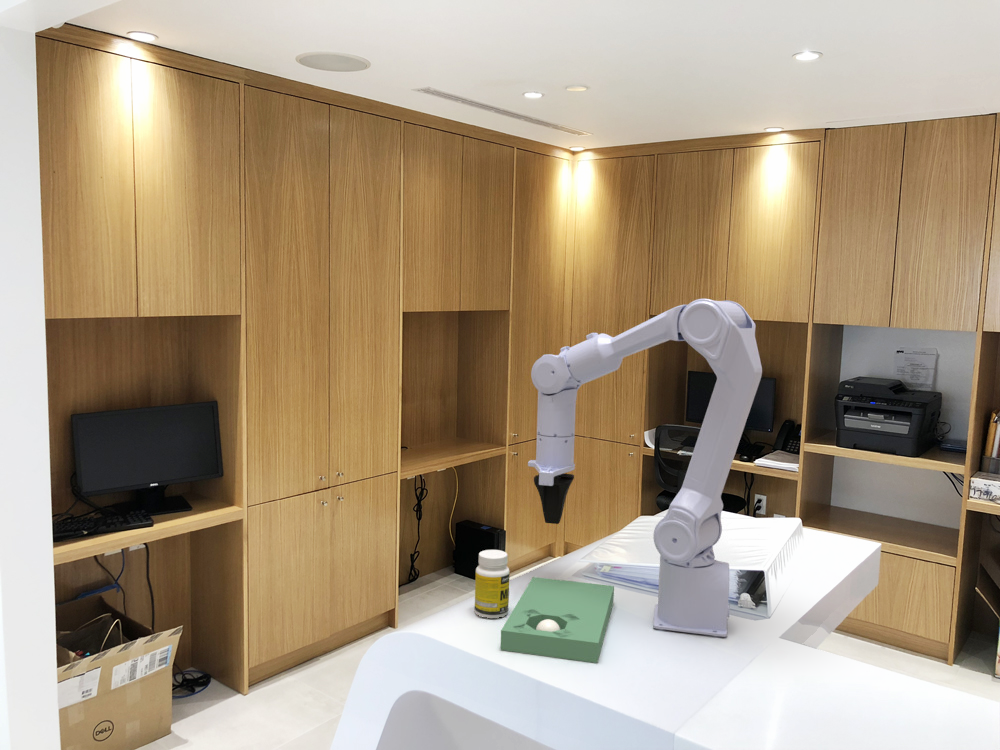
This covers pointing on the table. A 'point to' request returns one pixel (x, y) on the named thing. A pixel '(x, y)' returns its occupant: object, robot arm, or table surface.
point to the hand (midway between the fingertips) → (552, 522)
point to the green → (560, 619)
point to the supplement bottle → (492, 584)
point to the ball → (548, 625)
